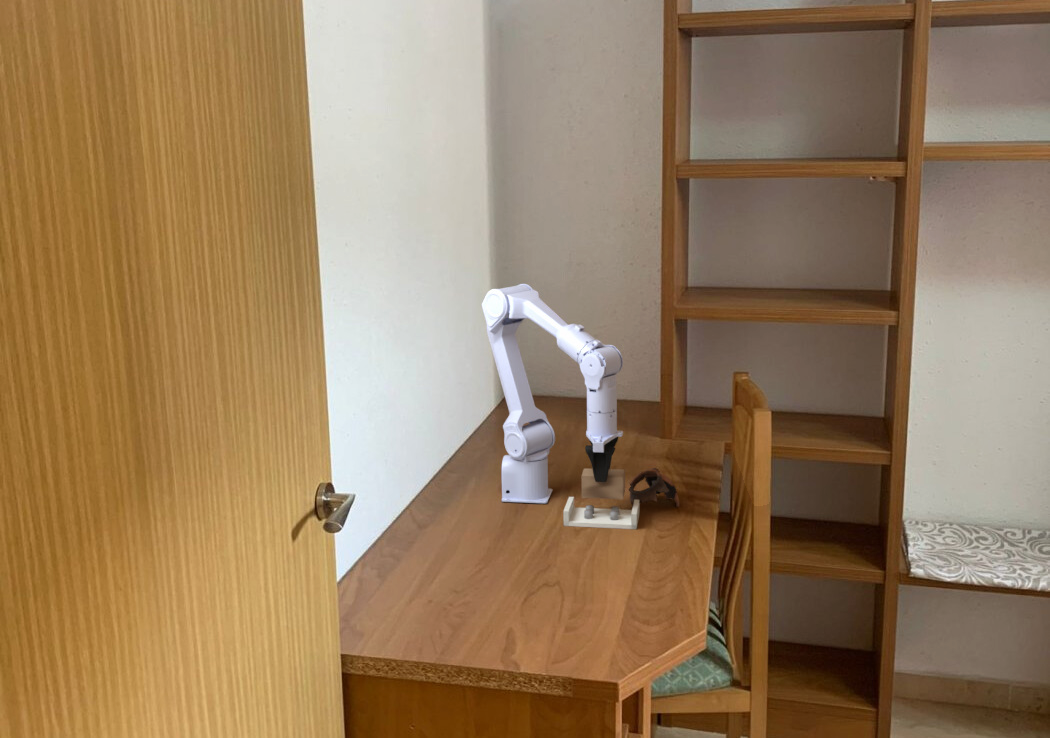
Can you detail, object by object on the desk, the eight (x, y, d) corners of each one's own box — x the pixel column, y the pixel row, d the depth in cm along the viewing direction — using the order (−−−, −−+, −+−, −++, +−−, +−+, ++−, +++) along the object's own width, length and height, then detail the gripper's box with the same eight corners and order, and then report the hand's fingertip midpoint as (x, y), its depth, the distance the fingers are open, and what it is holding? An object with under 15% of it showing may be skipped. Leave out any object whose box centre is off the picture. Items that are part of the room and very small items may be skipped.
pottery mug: (685, 514, 205) (667, 484, 202) (642, 532, 208) (623, 502, 205) (680, 480, 216) (662, 450, 213) (639, 497, 219) (621, 468, 215)
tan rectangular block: (581, 497, 200) (581, 475, 199) (584, 490, 205) (584, 468, 204) (623, 499, 199) (623, 477, 198) (624, 491, 203) (624, 469, 202)
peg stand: (563, 525, 199) (563, 511, 199) (569, 510, 207) (569, 496, 206) (636, 529, 197) (636, 514, 196) (639, 514, 205) (639, 499, 204)
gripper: (619, 420, 190) (619, 490, 193) (625, 400, 204) (625, 465, 207) (581, 419, 192) (582, 489, 195) (590, 399, 206) (590, 464, 209)
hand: (602, 477), depth 201 cm, fingers closed on tan rectangular block, 4 cm apart
